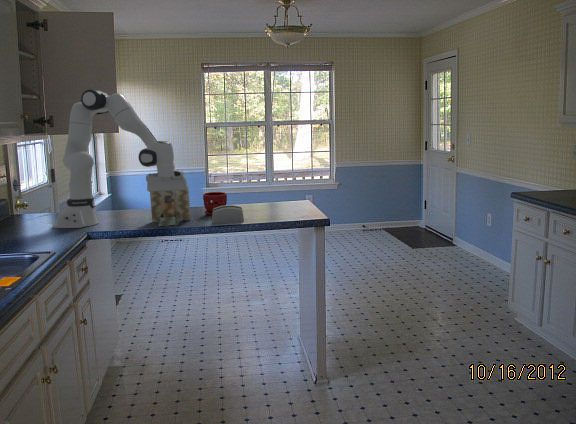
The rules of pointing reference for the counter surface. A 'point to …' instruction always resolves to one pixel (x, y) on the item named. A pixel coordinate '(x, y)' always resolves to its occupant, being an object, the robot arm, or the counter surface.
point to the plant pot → (214, 201)
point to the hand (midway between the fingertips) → (168, 199)
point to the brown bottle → (169, 206)
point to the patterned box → (180, 207)
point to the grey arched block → (227, 214)
